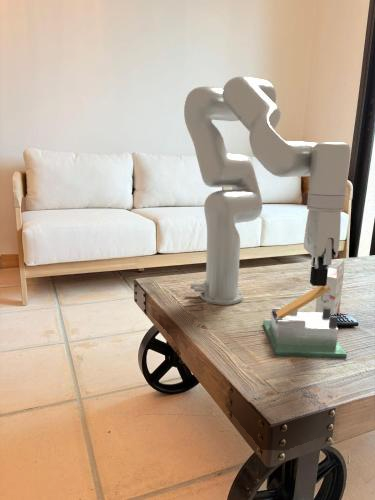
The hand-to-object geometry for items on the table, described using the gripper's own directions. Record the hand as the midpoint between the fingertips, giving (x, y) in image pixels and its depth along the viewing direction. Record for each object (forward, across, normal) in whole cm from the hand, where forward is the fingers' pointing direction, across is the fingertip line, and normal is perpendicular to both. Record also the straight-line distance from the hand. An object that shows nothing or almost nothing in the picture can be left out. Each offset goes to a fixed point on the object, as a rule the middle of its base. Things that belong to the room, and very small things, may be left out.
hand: (317, 284), depth 88 cm
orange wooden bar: (+4, 0, -3) cm, 5 cm away
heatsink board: (+14, 0, -3) cm, 14 cm away
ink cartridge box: (+14, -16, +8) cm, 23 cm away
